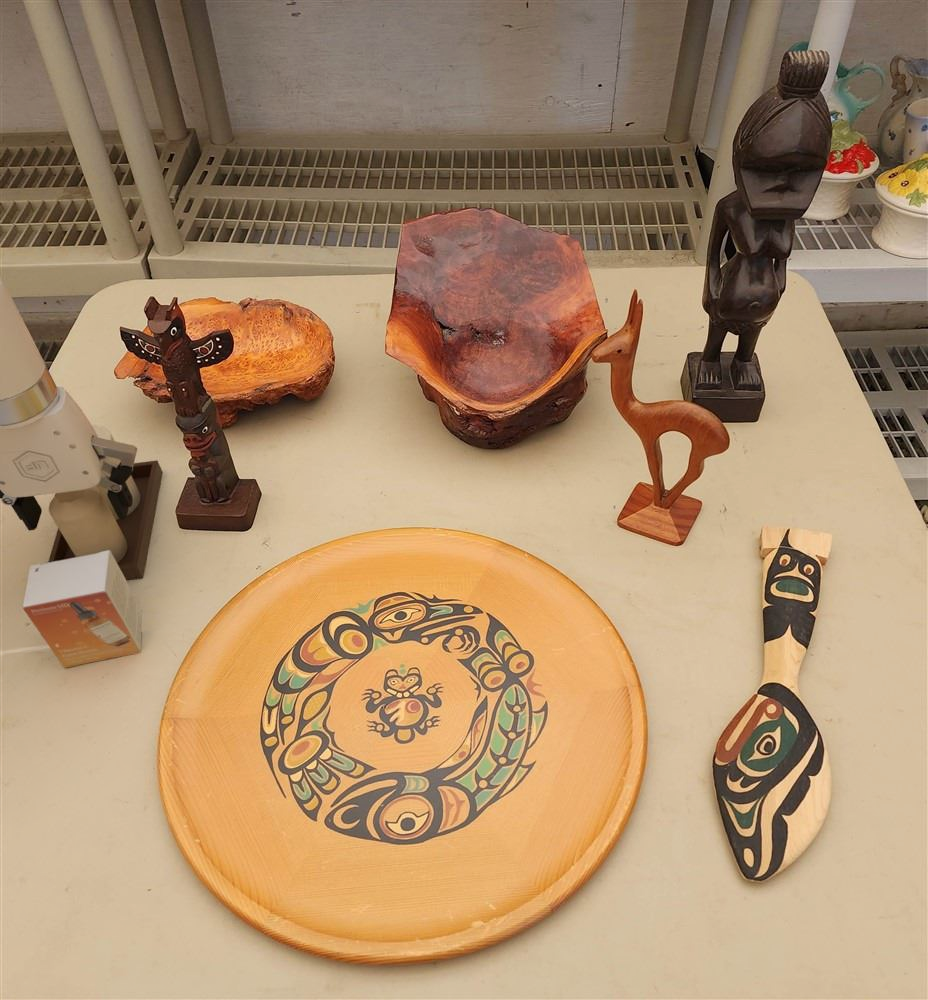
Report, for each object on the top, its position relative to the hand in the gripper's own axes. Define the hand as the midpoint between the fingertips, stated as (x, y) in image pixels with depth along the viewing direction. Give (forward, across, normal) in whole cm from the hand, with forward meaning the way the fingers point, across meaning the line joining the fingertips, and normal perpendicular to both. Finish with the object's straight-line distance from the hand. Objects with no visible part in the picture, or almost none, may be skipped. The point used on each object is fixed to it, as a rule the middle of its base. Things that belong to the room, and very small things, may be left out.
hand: (80, 515), depth 94 cm
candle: (+7, 0, 0) cm, 7 cm away
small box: (+7, +2, -12) cm, 14 cm away
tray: (+7, 0, +4) cm, 8 cm away
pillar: (+6, 0, +8) cm, 10 cm away
